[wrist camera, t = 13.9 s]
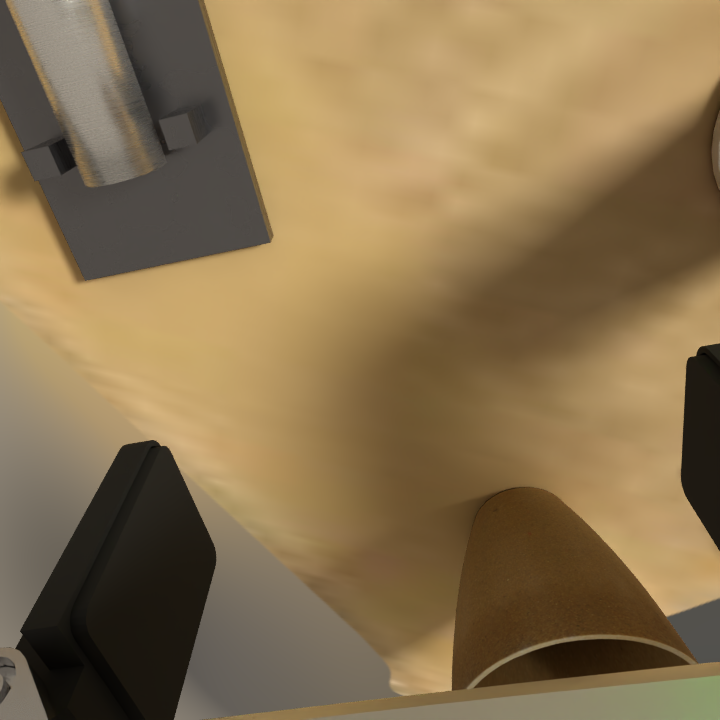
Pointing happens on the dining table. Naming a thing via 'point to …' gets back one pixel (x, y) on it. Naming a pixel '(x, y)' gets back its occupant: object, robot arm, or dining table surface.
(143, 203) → the saddle stand
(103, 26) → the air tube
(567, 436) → the dining table surface
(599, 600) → the plant pot
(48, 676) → the robot arm
